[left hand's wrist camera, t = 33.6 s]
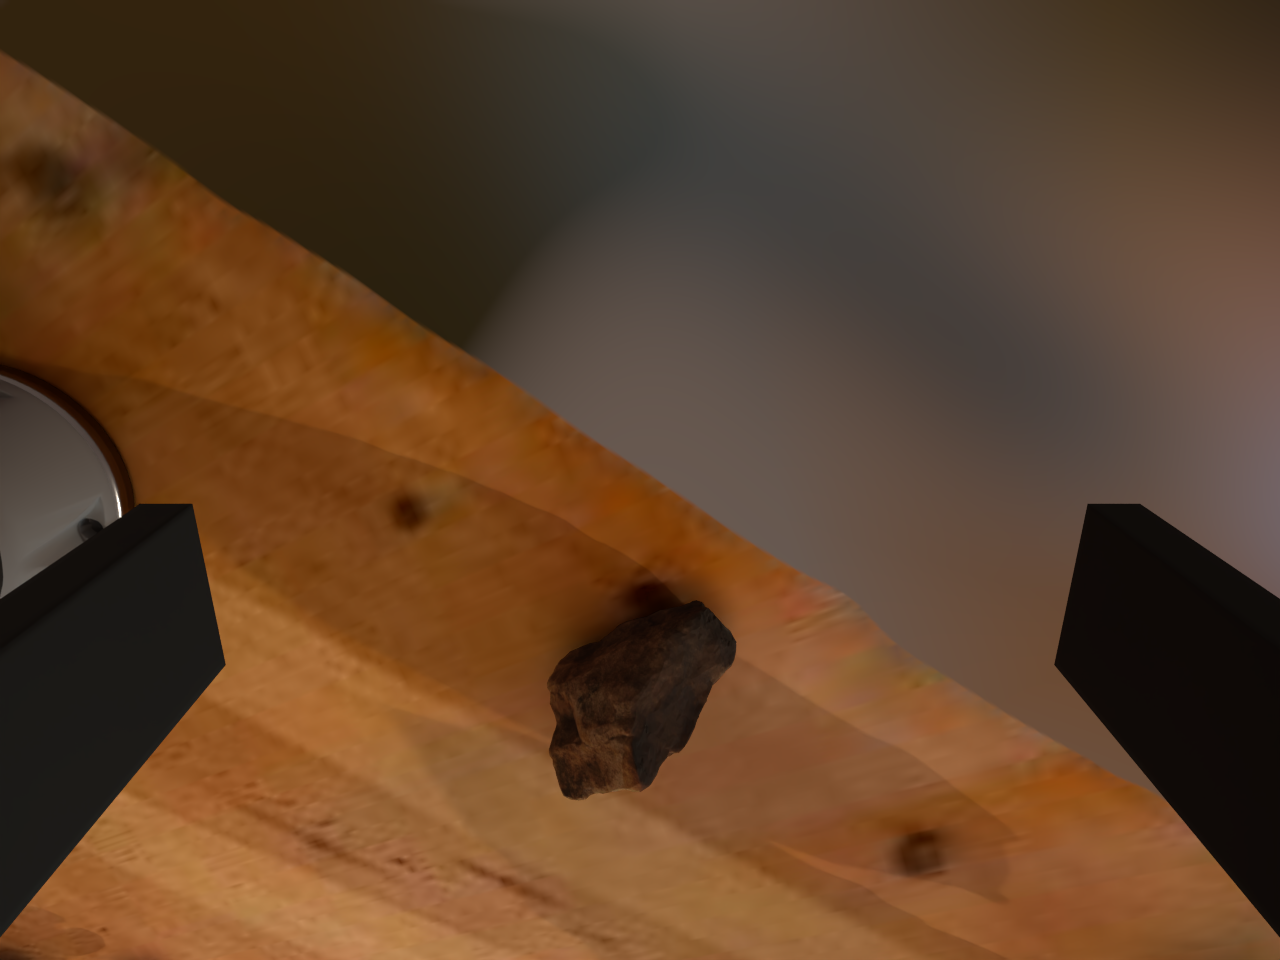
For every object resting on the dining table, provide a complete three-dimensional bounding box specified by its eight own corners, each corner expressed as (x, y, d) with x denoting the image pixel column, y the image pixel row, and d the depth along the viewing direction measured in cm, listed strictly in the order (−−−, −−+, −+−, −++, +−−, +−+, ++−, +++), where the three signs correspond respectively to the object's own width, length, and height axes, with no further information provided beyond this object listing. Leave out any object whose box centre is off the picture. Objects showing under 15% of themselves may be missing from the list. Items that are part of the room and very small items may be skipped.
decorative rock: (579, 716, 56) (566, 839, 45) (535, 646, 54) (511, 758, 44) (743, 647, 54) (767, 759, 44) (704, 572, 52) (720, 671, 42)
